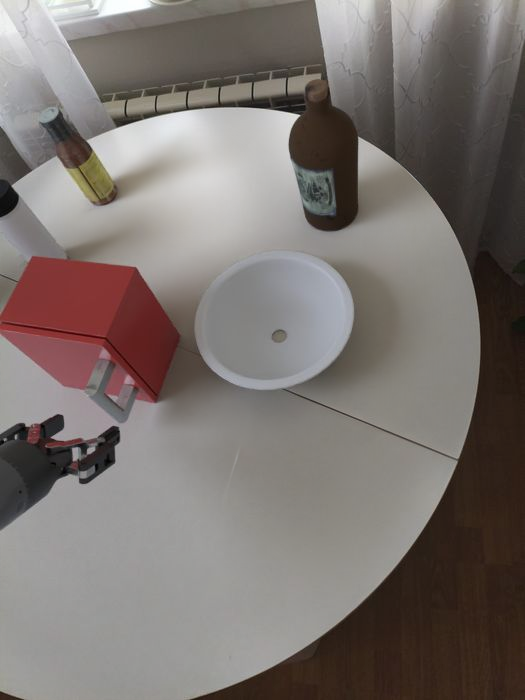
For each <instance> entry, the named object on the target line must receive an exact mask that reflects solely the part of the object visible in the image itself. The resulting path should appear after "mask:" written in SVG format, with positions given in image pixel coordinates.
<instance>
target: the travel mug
mask: <svg viewBox="0 0 525 700" xmlns="http://www.w3.org/2000/svg"><path fill="white" fill-rule="evenodd" d="M0 233H1V235H2V236H3V237H4V238H5V239H7V241H8V242H9V243H10V244H11V245H12V247H14V248H15V250H16V251H17V252H18V253H19V254H20V256H22V257H23V259H24V260H25V261H26V262H27V264H28V263H29V261H30V259H31V257H32V256H39V257H48V258H57V259H67V260H70V257H69V256H68V254H67V252H66V251H65V250H64V249H63V247H61V245H60V244H59V243H58V242H57V240H56V239H55V237H53V235H52V234H51V232H50V231H49V230H48V229H47V228H46V226H45V225H44V224H43V223H42V221H40V219H39V218H38V216H37V215H36V214H35V213H34V212H33V210H32V209H31V208H30V207H29V205H28V204H27V203H26V202H25V200H24V199H23V198H22V196H21V195H20V194H19V193H18V191H16V189H15V188H14V187H13V186H12V185H11V184H10V182H9V181H8V180H6V179H4V178H3V179H2V178H0Z"/></svg>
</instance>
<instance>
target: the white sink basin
mask: <svg viewBox="0 0 525 700" xmlns="http://www.w3.org/2000/svg"><path fill="white" fill-rule="evenodd" d="M354 322H355V304H354V299H353V295H352V292H351V290H350V287H349V286H348V283H347V282H346V281H345V279H344V278H343V276H342V274H340V273H339V272H338V270H336V269H335V268H334V267H333V266H331V264H329V263H327V262H326V261H324V260H322V259H321V258H319V257H317V256H315V255H311V254H309V253H305V252H301V251H295V250H271V251H265V252H261V253H257V254H254V255H251V256H248V257H246V258H243V259H241V260H239V261H237V262H235V263H234V264H232V265H230V266H229V267H227V268H226V269H225V270H223V271H222V272H221V273H220V274H219V275H218V276H217V277H215V279H214V280H213V281H212V282H211V283H210V285H209V286H208V287H207V288H206V290H205V292H204V293H203V294H202V296H201V298H200V301H199V303H198V306H197V308H196V312H195V318H194V325H193V326H194V327H193V329H194V338H195V344H196V346H197V349H198V351H199V354H200V356H201V358H202V359H203V361H204V363H205V364H206V365H207V366H208V367H209V368H210V369H211V371H213V372H214V373H215V374H216V375H217V376H219V377H220V378H222V379H224V380H225V381H226V382H229V383H231V384H234V385H236V386H238V387H241V388H245V389H250V390H256V391H257V390H258V391H276V390H282V389H288V388H292V387H294V386H298V385H300V384H302V383H305V382H307V381H309V380H312V379H313V378H315V377H316V376H318V375H319V374H321V373H323V371H325V370H326V369H327V368H328V367H330V366H331V365H332V364H333V363H334V362H335V361H336V360H337V358H338V357H339V356H340V355H341V353H342V352H343V350H344V348H345V347H346V345H347V343H348V341H349V339H350V337H351V334H352V331H353V328H354ZM277 331H283V332H285V334H286V338H285V339H284V340H283V341H280V342H276V341H274V339H273V335H274V333H276V332H277Z"/></svg>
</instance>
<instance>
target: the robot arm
mask: <svg viewBox="0 0 525 700" xmlns="http://www.w3.org/2000/svg"><path fill="white" fill-rule="evenodd" d="M64 429H65V417H64V414H60V413H56V414H55V415H53V416H51V417H49V418H47V419H45V420H44V421H42V422H40V423H38V422H37V423H36V422H35V423H32V424H30V425H29V426H27V425H26V423H25V422H18V423H16V424H14V425H13V426H11V427H9V428H7V429H6V430H4V431H3V432H1V433H0V532H1V531H3V530H4V529H6V528H7V527H9V525H11V524H12V523H13V522H14V521H16V520H17V519H18V518H20V517H21V516H22V515H23V514H25V513H27V511H29V510H30V509H32V508H33V507H34V506H35V505H36V504H39V502H40V501H42V500H43V499H44V498H46V497H47V496H48V495H49V493H50V492H51V490H52V488H53V487H54V485H55V484H56V482H57V481H58V480H59V479H62V478H65V477H67V476H69V475H70V476H71V475H72V476H74V477H78V484H80V485H87V484H89V483H91V482H92V481H94V479H96V478H97V477H98V476H100V475H101V474H103V473H104V472H105V471H107V470H108V469H109V468H111V467H112V466H114V465H115V464H116V446H118V445H119V444H120V443H121V430H120V427H119V426H118V425H112V426H110V427H109V428H107V429H106V430H104V431H103V432H102V433H100V434H99V435H98V436H97V437H94V438H91V439H86V440H85V439H84V438H82V437H78V438H74V439H69V440H57V439H55V438H52V437H54V436H55V435H57V434H58V433H61V432H62V431H64ZM76 448H77V455H78V457H77V459H76V460H74V455H73V454H74V453H73V452H74V451H73V449H76ZM90 448H94V451H92V452H91V453H88V449H90Z"/></svg>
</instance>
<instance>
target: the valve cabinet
mask: <svg viewBox="0 0 525 700" xmlns="http://www.w3.org/2000/svg"><path fill="white" fill-rule="evenodd" d="M0 323H2V324H8V325H15V326H21V327H28V328H34V329H41V330H47V331H54V332H60V333H67V334H73V335H80V336H86V337H93V338H100V339H105V340H106V341H107V342H108V343H109V344H110V345H111V346H112V347H113V348H114V350H115V351H116V352H117V353H118V354H119V355H120V356H121V357H122V358H123V360H124V361H125V362H126V363H127V364H128V365H129V366H130V367H131V369H132V370H133V371H134V372H135V373H136V374H137V375H138V376H139V377H140V379H141V380H142V381H143V382H144V383H145V384H146V385H147V386H148V387H149V389H150V390H151V391H152V392H153V393H154V394H155V395H156V396H157V397H159V396H160V394H161V391H162V388H163V386H164V383H165V380H166V378H167V374H168V372H169V369H170V366H171V365H172V361H173V358H174V356H175V353H176V350H177V348H178V345H179V342H180V339H181V337H182V335H181V333H180V332H179V331H178V329H177V328H176V326H175V324H173V321H172V320H171V319H170V317H169V315H168V313H167V312H166V311H165V309H164V307H163V306H162V305H161V303H160V302H159V300H158V299H157V297H156V295H155V294H154V292H153V291H152V289H151V288H150V286H149V285H148V283H147V281H146V280H145V278H144V276H143V275H142V273H141V272H140V271H139V269H138V268H137V266H130V265H122V264H113V263H102V262H92V261H85V260H76V259H69V260H67V259H57V258H48V257H39V256H32V257H31V259H30V261H29V263H28V262H27V264H26V266H25V268H24V270H23V272H22V274H21V276H20V278H19V280H18V282H17V283H16V285H15V287H14V289H13V290H12V292H11V295H10V296H9V298H8V299H7V302H6V304H5V306H4V307H3V310H2V311H1V313H0Z"/></svg>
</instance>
